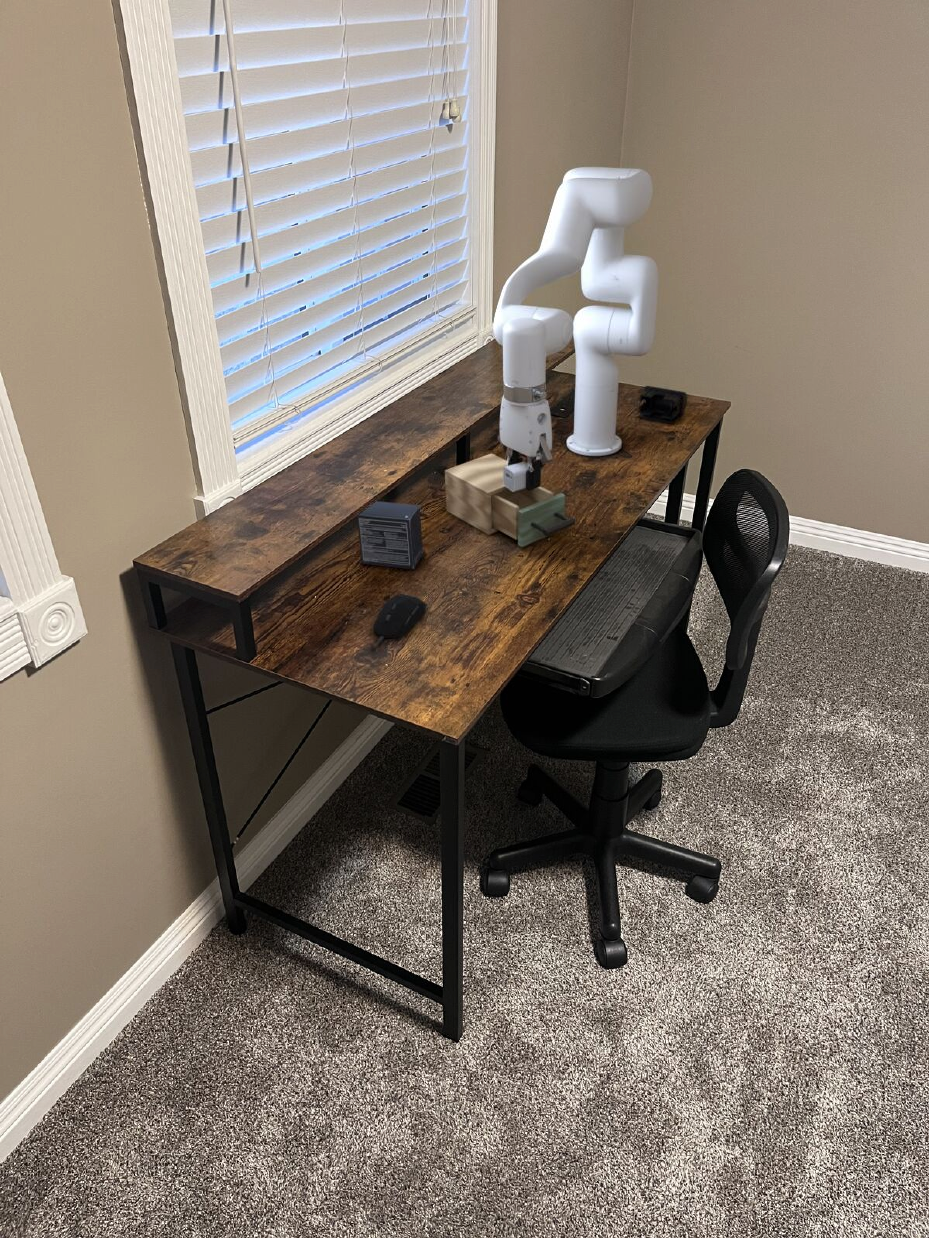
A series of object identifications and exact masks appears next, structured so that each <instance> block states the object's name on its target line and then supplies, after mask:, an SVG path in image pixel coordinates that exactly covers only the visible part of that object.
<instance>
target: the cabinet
mask: <svg viewBox="0 0 929 1238" xmlns="http://www.w3.org/2000/svg"><path fill="white" fill-rule="evenodd" d="M508 462H509V461H507V460H506V459H505V458H502V457H500V456H498V455H496V454H493V453H488V454H486V455H483V456H480V457H477V458H475V459H472V460H469V461H466V462H464V463H461V464H458V465H455V466H453V467H450V468H447V469H445V470H444V481H445V482H444V483H445V484H444V485H445V501H446V512H448V513H450V514H451V515H453V516H455V517H456V518H458V519H460V520H462V521H463V522H465V523H467V524H469V525H471V526H472V527H474V528H476V529H478V530H480V531H481V532H483V533H484V534H486V535H488V536H489V535H492V534H494V533H497V532H499V531H500V530H498V529H496V528H494V527H492V520H491V495H493V494H496V493H498V492H501V491H503V490H506V489H508V488H507V487H505V486H504V483H503V468H504V467H506V466H508Z"/></svg>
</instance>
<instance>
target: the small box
mask: <svg viewBox="0 0 929 1238" xmlns="http://www.w3.org/2000/svg"><path fill="white" fill-rule="evenodd" d="M375 501H376V502H375V503H373V504H372V505H370V507H368V508H366V510H364V511H363V512H362V513H360V514H359V515H358V516H357V517H356V522H357V523H356V524H357V532H358V540H359V547H360V548H359V549H360V557H361V559H360V561H361V562H360V563H361V564H362V565H370V566H377V567H378V566H379V567H386V568H387V567H388V568H397V569H405V570H414V569H415V568H416V566H417V565H418V563H419V562H420V560H421V559H422V557H423V556H424V547H423V546H424V545H423V532H422V518H421V517H422V516H421V505H419V504H408V503H397V502H386V501H377V500H375Z"/></svg>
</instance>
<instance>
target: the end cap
mask: <svg viewBox="0 0 929 1238" xmlns="http://www.w3.org/2000/svg"><path fill="white" fill-rule="evenodd" d="M638 400H639V402H642V401H643V402H642V403H641V404H640V405H639V406H638V413H639V414H638V418H639V419H640V420H641V419H642V420H645V421H651V422H656V423H663V424H667V425H674V424H676V422H678V421H679V420H680V419H681V417H682V416H684V413H685V411H686V408H687V403H688V394H687V393H686V391H681V390H675V389H669V388H665V387H664V388H663V387H659V386H652V385H645V386H644V392H642V393H641V394H640V395H639V398H638Z"/></svg>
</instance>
